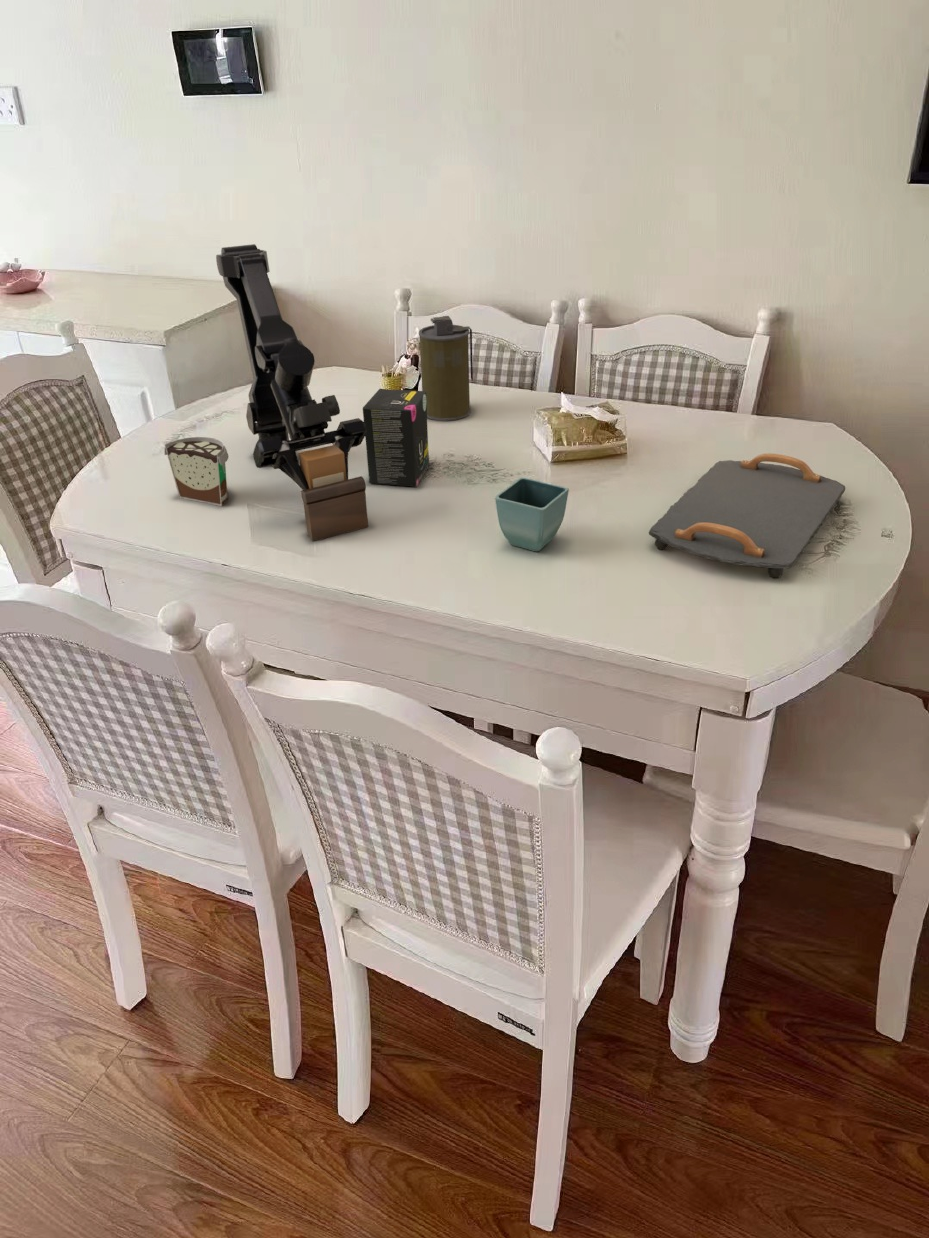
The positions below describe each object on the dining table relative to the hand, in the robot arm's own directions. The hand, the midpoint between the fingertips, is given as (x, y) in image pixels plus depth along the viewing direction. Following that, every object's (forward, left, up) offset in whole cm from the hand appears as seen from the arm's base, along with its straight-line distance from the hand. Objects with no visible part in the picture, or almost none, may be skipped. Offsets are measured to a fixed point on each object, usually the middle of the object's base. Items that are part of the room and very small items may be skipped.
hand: (327, 488), depth 159 cm
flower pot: (+23, +25, -7) cm, 35 cm away
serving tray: (+36, +59, -7) cm, 70 cm away
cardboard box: (-1, 0, -7) cm, 7 cm away
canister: (-37, +42, -7) cm, 56 cm away
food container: (-23, -14, -7) cm, 28 cm away
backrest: (+3, 0, -7) cm, 7 cm away
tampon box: (-13, +19, -7) cm, 24 cm away
